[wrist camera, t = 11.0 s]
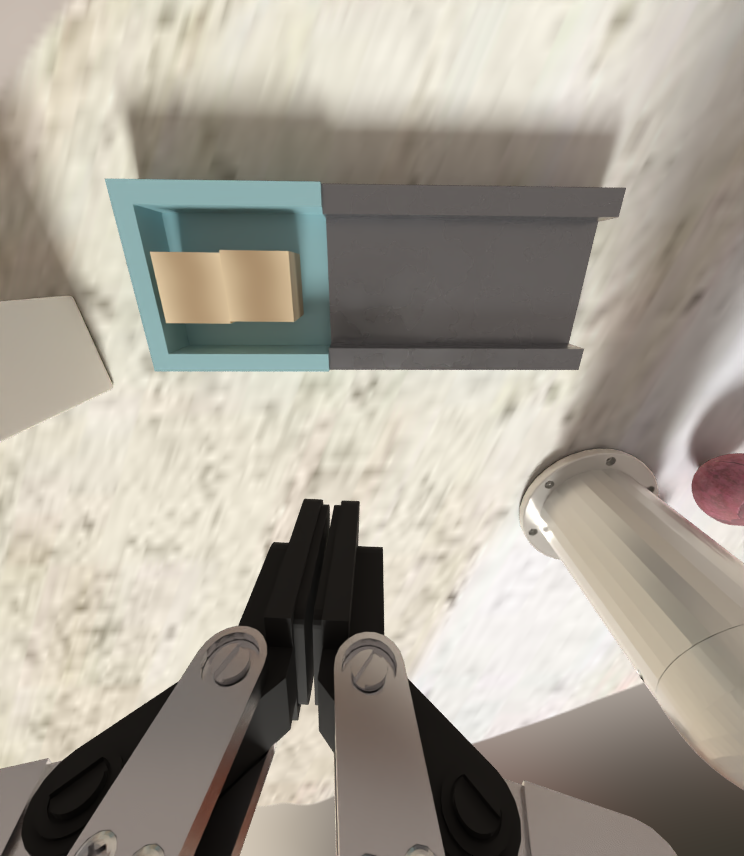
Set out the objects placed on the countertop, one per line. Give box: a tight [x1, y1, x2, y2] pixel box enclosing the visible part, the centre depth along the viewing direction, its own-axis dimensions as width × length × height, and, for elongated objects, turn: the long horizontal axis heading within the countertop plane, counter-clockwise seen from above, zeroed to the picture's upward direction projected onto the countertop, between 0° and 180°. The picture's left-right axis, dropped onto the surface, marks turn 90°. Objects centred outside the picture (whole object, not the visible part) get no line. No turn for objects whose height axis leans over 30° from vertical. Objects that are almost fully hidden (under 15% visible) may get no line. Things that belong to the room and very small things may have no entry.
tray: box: [105, 179, 331, 371], centre depth 23 cm, size 12×11×4 cm
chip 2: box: [219, 250, 304, 322], centre depth 23 cm, size 4×4×4 cm
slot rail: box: [321, 184, 626, 370], centre depth 24 cm, size 18×11×3 cm, turn 89°
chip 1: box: [150, 252, 236, 324], centre depth 23 cm, size 4×4×4 cm
